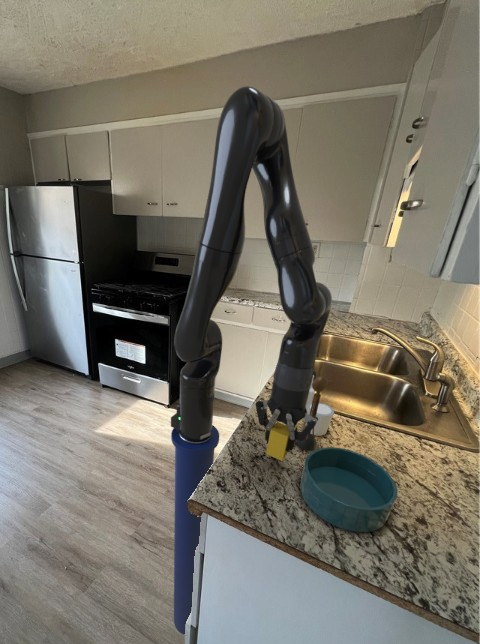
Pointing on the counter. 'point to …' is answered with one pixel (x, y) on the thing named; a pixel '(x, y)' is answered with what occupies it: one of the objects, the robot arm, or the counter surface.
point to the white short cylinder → (322, 418)
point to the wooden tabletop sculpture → (314, 411)
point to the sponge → (278, 441)
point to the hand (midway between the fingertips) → (278, 445)
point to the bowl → (347, 489)
